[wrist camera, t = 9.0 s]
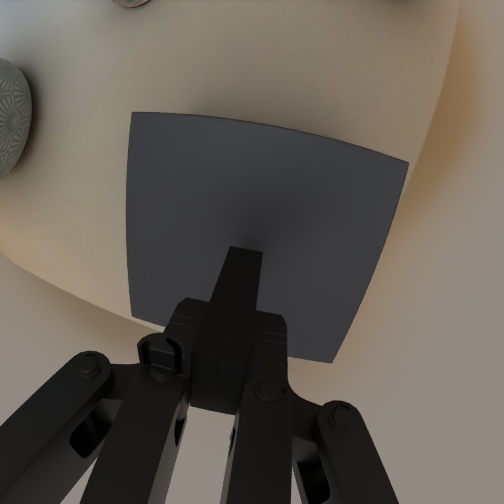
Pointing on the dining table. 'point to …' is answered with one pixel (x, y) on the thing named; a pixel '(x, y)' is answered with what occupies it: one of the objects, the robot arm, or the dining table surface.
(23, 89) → the planter
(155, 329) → the dining table surface
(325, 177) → the dark grey square slab
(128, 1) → the beer can
